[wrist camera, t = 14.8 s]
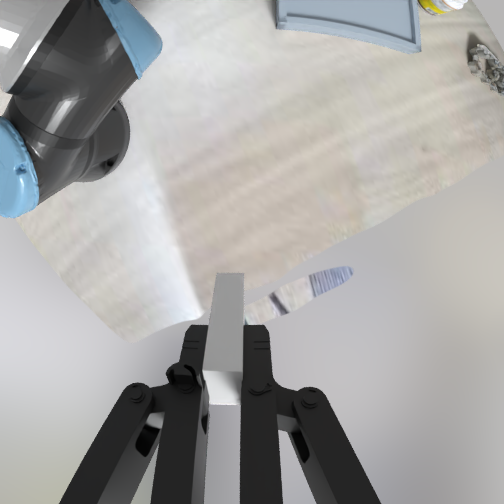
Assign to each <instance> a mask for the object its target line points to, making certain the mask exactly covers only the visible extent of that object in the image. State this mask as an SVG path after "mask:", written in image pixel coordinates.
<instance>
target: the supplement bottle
mask: <svg viewBox="0 0 504 504" xmlns="http://www.w3.org/2000/svg"><path fill="white" fill-rule="evenodd" d="M467 1H468V0H417V3H418V5H419V6H420V7H421V9H422V10H424V11H425V12H426V13H428V14H430V15H439V14H443V13H446V12H450V11H454V10H457V9H461V8H462V7H463V3H466V2H467Z"/></svg>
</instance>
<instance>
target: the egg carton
mask: <svg viewBox="0 0 504 504" xmlns="http://www.w3.org/2000/svg"><path fill="white" fill-rule="evenodd" d="M476 50H477V52H476ZM469 53H470V54H471V55H472V59H473V60H472V62H468V66H469V68H470V70H471V74H472V75H474V76H476V77H477V76H480V78H481V82H482V83H484V84H486V85H490V90H491V91H492V92H497V93H499V95H502V96H503V97H504V66H503V65H502V64H501V63H500V62H499V60H498V59H497V58H496V57H495V56H494V55H493V54H492V53H491V52H490V51H489V50H488V48H487V47H486V46H484V45H479V44H477V47H474V49H470V51H469ZM478 55H479V57H480V58H482V59H487V62H488V64H489V66H490V67H494V68H496V70H489V69H488V70H486V74H485V73H484V71H482V70H483V66H482V64H481V62H480V61H479V57H478ZM491 80H495V83H491ZM496 86H497V87H496Z"/></svg>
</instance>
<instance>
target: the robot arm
mask: <svg viewBox="0 0 504 504" xmlns="http://www.w3.org/2000/svg"><path fill="white" fill-rule="evenodd" d="M161 50H162V40H161V37H160V36H159V34H158V33H157V32H156V30H155V29H154V28H153V27H152V26H151V25H150V23H149V22H148V21H147V20H146V19H145V18H144V17H143V16H142V15H141V14H140V13H139V12H138V11H137V10H136V9H135V8H134V7H133V6H132V5H131V4H130V3H129V2H128V1H127V0H0V85H1V89H2V91H3V92H5V93H9V94H12V95H13V96H12V98H11V100H10V102H9V103H8V106H7V108H6V110H5V112H4V114H3V115H2V116H0V215H1V216H3V217H10V218H16V217H19V216H20V215H22V214H24V213H26V212H28V211H31V210H33V209H34V208H35V207H36V206H37V205H39V204H40V203H41V202H43V201H44V200H46V199H47V198H49V197H50V196H52V195H53V194H55V193H57V192H58V191H60V190H61V189H63V188H65V187H66V186H68V185H69V184H71V183H73V182H92V181H96V180H98V179H101V178H103V177H104V176H106V175H108V174H109V173H111V172H112V171H113V170H115V169H116V168H117V167H118V165H119V164H120V163H121V161H122V160H123V158H124V156H125V154H126V151H127V148H128V145H129V139H130V126H129V121H128V117H127V115H126V112H125V110H124V109H123V107H122V106H121V104H120V103H119V102H118V100H119V99H120V98H121V97H122V96H123V94H124V93H125V92H126V91H127V90H128V89H129V87H130V86H131V85H132V84H133V83H134V82H135V81H136V80H137V79H138V80H139V79H140V78H141V77H142V73H143V72H144V71H145V70H146V69H147V68H148V67H149V65H150V64H151V63H152V62H153V61H154V60H155V59H156V58H157V57H158V56H159V54H160V52H161ZM166 376H167V378H168V381H169V383H168V384H166V385H163V386H157V387H152V388H149V387H148V386H147V385H145V384H143V383H132V384H130V385H129V386H127V387H126V388H125V389H124V390H123V392H122V394H121V396H120V397H119V399H118V400H117V402H116V404H115V405H114V407H113V409H112V410H111V412H110V414H109V415H108V417H107V419H106V420H105V422H104V424H103V425H102V427H101V429H100V431H99V432H98V434H97V436H96V437H95V439H94V441H93V443H92V444H91V446H90V448H89V450H88V451H87V453H86V455H85V457H84V459H83V460H82V462H81V464H80V466H79V467H78V469H77V471H76V473H75V475H74V477H73V478H72V480H71V482H70V484H69V486H68V488H67V490H66V492H65V493H64V495H63V497H62V499H61V501H60V503H59V504H130V503H131V501H132V499H133V497H134V495H135V493H136V491H137V488H138V486H139V484H140V482H141V480H142V478H143V475H144V473H145V471H146V469H147V467H148V465H149V463H150V461H151V458H152V456H153V454H154V452H155V450H156V448H157V446H158V444H159V448H158V454H157V461H156V467H155V474H154V481H153V488H152V495H151V503H150V504H204V489H205V471H206V457H207V443H208V429H209V417H210V414H209V409H208V408H209V401H210V404H222V405H241V432H240V434H241V435H240V504H283V497H282V481H281V466H280V451H279V436H278V430H282V431H286V432H288V435H289V437H290V440H291V443H292V445H293V448H294V450H295V452H296V455H297V458H298V460H299V463H300V465H301V467H302V470H303V472H304V475H305V477H306V480H307V482H308V484H309V487H310V489H311V492H312V494H313V496H314V499H315V501H316V503H317V504H381V503H380V501H379V499H378V497H377V495H376V493H375V491H374V489H373V487H372V485H371V483H370V481H369V479H368V477H367V476H366V473H365V471H364V469H363V467H362V465H361V463H360V462H359V460H358V458H357V456H356V454H355V452H354V450H353V448H352V446H351V444H350V442H349V440H348V438H347V436H346V434H345V432H344V430H343V428H342V427H341V425H340V423H339V421H338V419H337V417H336V415H335V413H334V411H333V409H332V408H331V406H330V403H329V401H328V400H327V397H326V395H325V394H324V393H323V392H322V391H321V390H319V389H317V388H314V387H304V388H302V389H300V390H298V391H295V390H291V389H287V388H284V387H281V386H280V385H278V383H277V382H275V380H274V378H273V374H272V362H271V350H270V337H269V332H268V330H267V329H266V327H265V326H264V325H244V273H217V275H216V281H215V287H214V293H213V300H212V306H211V313H210V319H209V325H191V326H190V327H189V328H188V330H187V331H186V333H185V337H184V342H183V346H182V351H181V355H180V360H179V362H178V363H175V364H173V365H172V366H171V367H169V368H168V370H167V372H166ZM159 441H160V442H159Z"/></svg>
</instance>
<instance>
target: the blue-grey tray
mask: <svg viewBox="0 0 504 504" xmlns="http://www.w3.org/2000/svg"><path fill="white" fill-rule="evenodd" d="M276 29H283V30H295V31H305V32H314V33H321V34H328V35H334V36H340V37H345V38H350V39H355V40H360V41H364V42H368V43H372V44H376V45H380V46H384V47H387V48H391V49H394V50H398V51H401V52H404V53H407V54H411V53H417V52H421V36H420V23H419V14H418V5H417V0H276Z"/></svg>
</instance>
